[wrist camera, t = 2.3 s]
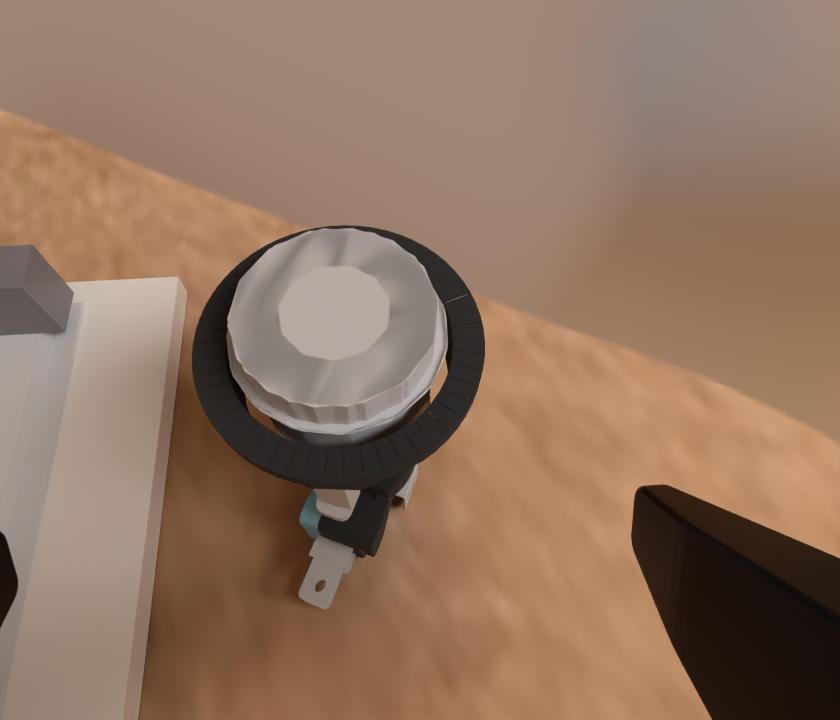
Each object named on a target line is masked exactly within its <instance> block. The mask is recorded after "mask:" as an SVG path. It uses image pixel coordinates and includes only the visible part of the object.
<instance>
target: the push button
mask: <svg viewBox="0 0 840 720" xmlns="http://www.w3.org/2000/svg"><path fill="white" fill-rule="evenodd" d="M445 357H446V363H447V368H448V375H447V377H446V380H445V382H444V384H443V386H442V388H441V390H440V392H439V393H438V394H437V396H436V397H435V399H434V400H433V402H432V403H431V404H430V396H429V395H430V387H431V386H432V384H433V382H434V380H435V378H436V376H437V374H438V371H439V369H440V367H441V365H442V362H443V360H444V358H445ZM484 357H485V338H484V329H483V325H482V320H481V316H480V313H479V310H478V308H477V305H476V303H475V301H474V299H473V297H472V295H471V293H470V291H469V289H468V288H467V286H466V285H465V283H464V282H463V280H462V279H461V278H460V277H459V275H458V274H457V273H456V272H455V271H454V270H453V269H452V268H451V267H450V266H449V265H448V264H447V263H446V262H445V261H444V260H443V259H442V258H440V257H439V256H438V255H437V254H435V253H434V252H432V251H431V250H429V249H428V248H426V247H425V246H423V245H421V244H419V243H417V242H415V241H413V240H411V239H409V238H406V237H404V236H402V235H399V234H396V233H392V232H389V231H386V230H381V229H376V228H371V227H363V226H345V225H344V226H328V227H320V228H314V229H310V230H305V231H301V232H298V233H295V234H291V235H288V236H286V237H283V238H281V239H278V240H276V241H274V242H272V243H270V244H268V245H266V246H264V247H262V248H261V249H259V250H258V251H256V252H254V253H253V254H251V255H250V256H249V257H247V258H246V259H245V260H243V261H242V262H241V263H240V264H238V265H237V266H236V267H235V268H234V269H233V270H232V271H231V272H230V273H229V274H228V275H227V276H226V277H225V278H224V279H223V280H222V282H221V283H220V284H219V285H218V287H217V288H216V290H215V291H214V292H213V294H212V295H211V297H210V299H209V300H208V302H207V304H206V306H205V308H204V310H203V312H202V314H201V317H200V319H199V322H198V325H197V328H196V332H195V337H194V342H193V351H192V371H193V378H194V383H195V388H196V391H197V394H198V397H199V400H200V402H201V405H202V407H203V409H204V411H205V413H206V415H207V417H208V418H209V420H210V421H211V423H212V425H213V426H214V427H215V429H216V430H217V431H218V432H219V434H220V435H221V436H222V437H223V439H224V440H225V441H226V442H227V444H228V445H230V446H231V447H232V448H233V449H234V450H235V451H236V452H237V453H238V454H239V455H240V456H242V457H243V458H244V459H246V460H247V461H248V462H250V463H251V464H253V465H254V466H256V467H258V468H259V469H261V470H263V471H265V472H267V473H269V474H271V475H274V476H276V477H278V478H281V479H284V480H287V481H291V482H294V483H298V484H303V485H305V486H307V487H309V488H312V489H313V490H312V492H311V494H310V496H309V497H308V498H307V500H306V502H305V505H304V507H303V509H302V512H301V514H300V519H299V523H300V525H301V526H303V528H304V529H305V531H306V532H307V533H308V535H309V536H310V538H312V539H314V540H315V542H314V544H313V546H312V549H311V551H310V553H309V556H311V557H314V558H313V560H312V562H311V565H310V567H309V569H308V572H307V574H306V576H305V579H304V581H303V583H302V586H301V588H300V591H299V593H298V595H299V597H300V598H301V599H303V600H304V601H305V602H307V603H309V604H312V605H314V606H317V607H319V608H322V609H324V610H326V609H328V608H330V605H331V603H332V600H333V597H334V595H335V592H336V590H337V587H338V585H339V582H340V580H341V577H342V575H343V573H346V574H349V571H350V569H351V566H352V564H353V561H354V559H355V556H359V557H361V558H364V557H365V555H366V554H367V555H370V556H372V557H374V556H375V554H376V552H377V550H378V548H379V545H380V542H381V540H382V537H383V534H384V530H385V526H386V522H387V518H388V514H389V510H390V506H391V503H392V501H393V498H394V496H398V497H401V498H403V509H406V507H407V504H408V502H409V499H410V496H411V493H412V491H413V488H414V485H415V482H416V479H417V472H418V467H417V466H418V463H420V462H422V461H423V460H425V459H426V458H427V457H429V456H430V455H431V454H433V453H434V452H436V451H437V449H439V448H440V447H441V446H442V445H443V444H444V443H445V442H446V441H447V440H448V439H449V438H450V437H451V435H452V434H453V433H454V432H455V431H456V430H457V428H458V427H459V425H460V424H461V423H462V421H463V420H464V418H465V417H466V415H467V413H468V411H469V409H470V407H471V405H472V403H473V401H474V398H475V396H476V393H477V390H478V387H479V383H480V379H481V375H482V371H483V365H484ZM245 394H246V396H247V397H248V399H249V400H250V402H251V403H252V404H253V405H254V406H255V407H256V408H257V409H258V410H259V411H261V412H263V413H265V414H266V415H268V416H270V418H271V420H272V422H273V424H274V425H275V427H276V429H277V431H278V433H279V435H280V436H279V435H277V434H275V433H273V432H272V431H270V430H269V429H267V428H266V427H264V426H263V425H261V424H260V423H259V422H258V421H257V420H256V419H255V418H253V417H252V416H251V415H250V414H249V411H248V408H247V404H246V398H245ZM322 580H325V581H326V585H325V587H324V589H323V590H321V591H318V592H316V590H315V587H316V584H317V583H318V582H319V581H322Z"/></svg>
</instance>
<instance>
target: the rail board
mask: <svg viewBox="0 0 840 720" xmlns="http://www.w3.org/2000/svg"><path fill="white" fill-rule="evenodd" d="M186 301H187V291H186V289H185V288H184V286H183V284H182V282H181V281H180V279H179V277H165V278H145V279H125V280H106V281H86V282H66V283H65V282H64V280H63V279H62V278H61V277H60V276H59V275H58V274H57V272H56V271H55V270H54V269H53V268H52V267H51V266H50V264H49V263H48V262H47V261H46V260H45V259H44V258H43V256H42V255H41V254H40V253H39V252H38V251H37V250H36V248H35V247H34V246H33V245H19V246H0V531H1V532H2V533H3V534H4V535H5V537H6V539H7V542H8V545H9V549H10V552H11V556H12V559H13V563H14V566H15V569H16V573H17V576H18V591H17V594H16V597H15V600H14V602H13V604H12V606H11V608H10V610H9V612H8V614H7V616H6V618H5V620H4V622H3V624H2V626H1V628H0V720H138V717H139V708H140V699H141V691H142V682H143V673H144V665H145V656H146V647H147V639H148V630H149V621H150V613H151V604H152V595H153V587H154V578H155V569H156V561H157V552H158V543H159V535H160V526H161V517H162V509H163V500H164V491H165V483H166V474H167V465H168V457H169V448H170V439H171V431H172V422H173V413H174V405H175V396H176V387H177V379H178V370H179V362H180V353H181V344H182V336H183V327H184V318H185V310H186Z"/></svg>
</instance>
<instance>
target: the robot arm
mask: <svg viewBox="0 0 840 720" xmlns="http://www.w3.org/2000/svg"><path fill="white" fill-rule="evenodd" d="M631 539H632V546H633V550H634V553H635V556H636V558H637V560H638V563H639V565H640V568H641V570H642V573H643V575H644V578H645V580H646V583H647V585H648V588H649V590H650V592H651V595H652V597H653V600H654V602H655V605H656V607H657V610H658V612H659V615H660V617H661V619H662V622H663V624H664V627H665V629H666V632H667V634H668V636H669V638H670V641H671V643H672V645H673V647H674V649H675V651H676V653H677V655H678V657H679V659H680V661H681V663H682V665H683V666H684V668H685V670H686V672H687V674H688V676H689V678H690V679H691V681H692V683H693V685H694V687H695V689H696V691H697V692H698V694H699V696H700V698H701V700H702V702H703V704H704V705H705V707H706V709H707V711H708V713H709V715H710V717H711V718H712V720H840V558H838V557H835V556H833V555H831V554H828V553H826V552H824V551H821V550H819V549H817V548H814V547H812V546H809V545H807V544H805V543H802V542H800V541H798V540H795V539H793V538H791V537H788V536H786V535H784V534H781V533H779V532H777V531H774V530H772V529H770V528H767V527H765V526H762V525H760V524H758V523H755V522H753V521H751V520H748V519H746V518H744V517H741V516H739V515H737V514H734V513H732V512H730V511H727V510H725V509H723V508H720V507H718V506H715V505H713V504H711V503H708V502H706V501H704V500H701V499H699V498H697V497H694V496H692V495H690V494H687V493H685V492H683V491H680V490H678V489H676V488H673V487H671V486H668V485H647V486H641V487H639V488H638V489H637V491H636V493H635V498H634V509H633V521H632V533H631ZM17 591H18V576H17V573H16V569H15V566H14V563H13V559H12V556H11V552H10V549H9V545H8V542H7V539H6V537H5V535H4V534H3V533H2V532H1V531H0V628H1V626H2V624H3V622H4V620H5V618H6V616H7V614H8V612H9V610H10V608H11V606H12V604H13V602H14V600H15V597H16V594H17Z"/></svg>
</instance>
